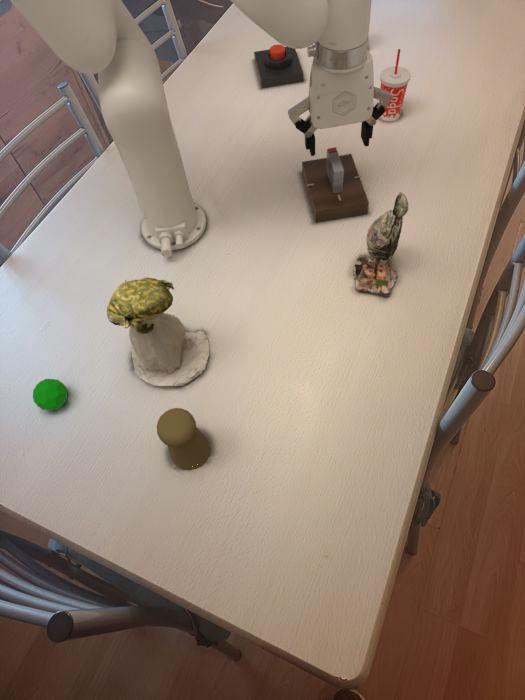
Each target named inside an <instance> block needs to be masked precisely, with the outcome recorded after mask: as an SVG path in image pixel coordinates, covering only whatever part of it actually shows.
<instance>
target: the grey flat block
mask: <svg viewBox="0 0 525 700" xmlns="http://www.w3.org/2000/svg"><path fill="white" fill-rule="evenodd" d="M339 156H340V155H339V152H338V149H337V147H336V146H335V147H329V148H327V149H326V158H327V161H326V172H327V175H328V178H329V181H330V185H331V188H332V191H333V193H338V192H342V191H343V177H344V169H343V166H342V163H341V160H340V157H339Z"/></svg>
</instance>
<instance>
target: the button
mask: <svg viewBox="0 0 525 700" xmlns="http://www.w3.org/2000/svg"><path fill="white" fill-rule="evenodd" d="M285 47H286V46H284V45H282V44H273V45H272V46H270V47H269V49H270V58H271V59H275V60H278V59H282V58H284V57H285Z"/></svg>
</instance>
